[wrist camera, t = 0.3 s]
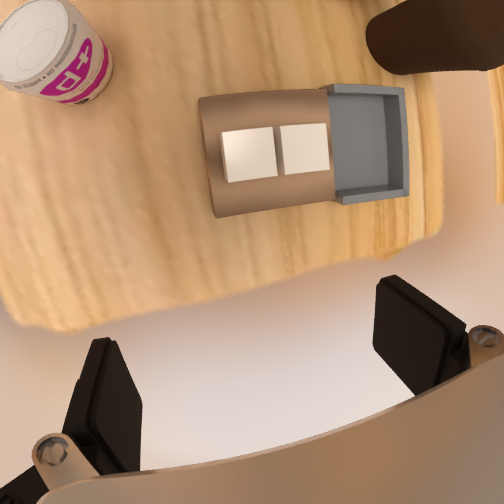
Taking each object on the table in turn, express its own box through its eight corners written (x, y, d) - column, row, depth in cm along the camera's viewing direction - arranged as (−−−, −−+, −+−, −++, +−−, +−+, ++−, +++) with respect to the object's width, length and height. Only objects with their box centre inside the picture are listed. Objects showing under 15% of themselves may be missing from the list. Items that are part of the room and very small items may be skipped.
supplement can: (128, 70, 30) (96, 29, 16) (74, 119, 30) (13, 112, 16) (90, 27, 26) (46, -26, 13) (38, 75, 27) (-30, 51, 13)
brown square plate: (198, 101, 33) (199, 97, 30) (316, 92, 35) (326, 89, 32) (213, 212, 37) (216, 218, 35) (324, 195, 40) (335, 199, 37)
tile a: (218, 132, 32) (221, 132, 29) (265, 127, 32) (272, 126, 30) (225, 179, 33) (228, 182, 31) (270, 173, 34) (277, 175, 32)
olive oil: (350, 50, 34) (509, 2, 11) (374, -2, 31) (511, -59, 8) (409, 93, 37) (565, 94, 14) (428, 41, 35) (566, 22, 12)
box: (319, 88, 35) (333, 83, 31) (385, 90, 36) (403, 87, 33) (328, 198, 40) (343, 205, 36) (391, 190, 41) (409, 196, 38)
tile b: (273, 126, 33) (280, 126, 30) (316, 123, 33) (325, 123, 31) (277, 172, 34) (285, 174, 32) (320, 167, 35) (329, 169, 33)
